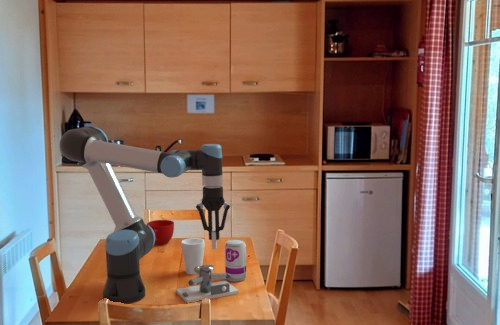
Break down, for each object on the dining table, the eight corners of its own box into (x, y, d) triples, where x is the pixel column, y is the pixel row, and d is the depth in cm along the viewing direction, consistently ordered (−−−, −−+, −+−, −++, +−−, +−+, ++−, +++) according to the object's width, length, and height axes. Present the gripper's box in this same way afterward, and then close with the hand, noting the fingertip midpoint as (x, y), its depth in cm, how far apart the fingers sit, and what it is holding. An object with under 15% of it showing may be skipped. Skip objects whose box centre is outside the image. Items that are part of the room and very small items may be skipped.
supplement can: (239, 283, 219) (238, 245, 217) (221, 279, 223) (220, 242, 221) (250, 277, 226) (249, 240, 223) (232, 273, 230) (232, 237, 228)
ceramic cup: (140, 249, 265) (139, 228, 263) (152, 239, 281) (152, 219, 280) (167, 250, 263) (166, 229, 261) (177, 240, 279) (177, 220, 278)
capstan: (189, 299, 200) (189, 275, 198) (176, 285, 212) (175, 263, 211) (231, 291, 207) (231, 267, 206) (215, 278, 220) (215, 257, 218)
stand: (188, 304, 199) (187, 292, 198) (175, 292, 210) (175, 281, 210) (239, 294, 208) (239, 283, 207) (225, 283, 219) (225, 272, 218)
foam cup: (201, 276, 227) (200, 245, 225) (179, 275, 229) (178, 244, 227) (207, 268, 236) (207, 238, 234) (186, 267, 238) (185, 237, 236)
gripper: (231, 184, 212) (232, 245, 215) (196, 184, 213) (198, 245, 216) (229, 187, 205) (230, 251, 208) (193, 188, 205) (195, 251, 209)
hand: (214, 248), depth 212 cm, fingers closed
